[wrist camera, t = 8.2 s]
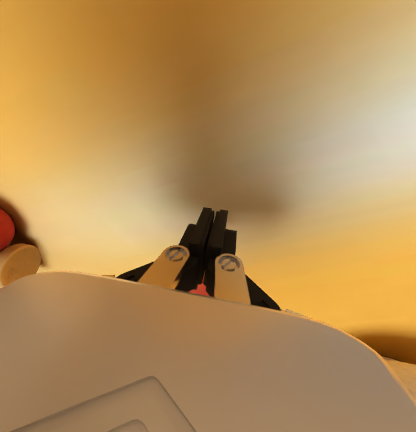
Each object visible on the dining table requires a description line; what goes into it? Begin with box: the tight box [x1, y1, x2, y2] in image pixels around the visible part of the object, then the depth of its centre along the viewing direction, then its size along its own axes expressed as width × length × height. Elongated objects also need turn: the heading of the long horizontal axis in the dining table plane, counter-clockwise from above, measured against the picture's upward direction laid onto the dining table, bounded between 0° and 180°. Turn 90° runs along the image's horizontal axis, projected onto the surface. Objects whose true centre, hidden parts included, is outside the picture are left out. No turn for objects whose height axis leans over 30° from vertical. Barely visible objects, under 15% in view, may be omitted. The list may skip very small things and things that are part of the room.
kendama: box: [0, 209, 41, 289], centre depth 21 cm, size 8×6×18 cm
